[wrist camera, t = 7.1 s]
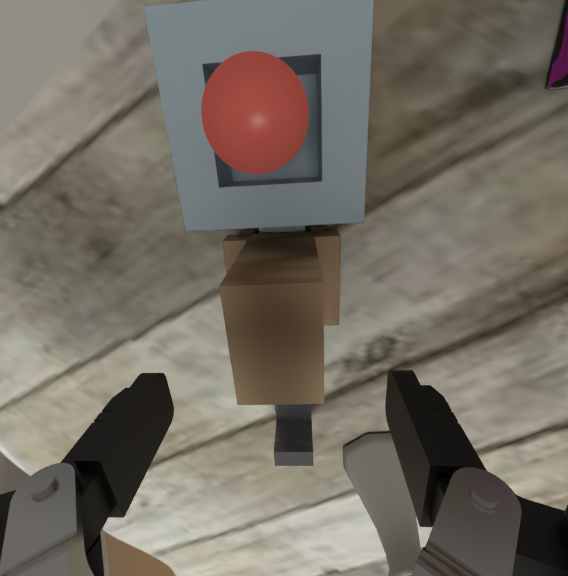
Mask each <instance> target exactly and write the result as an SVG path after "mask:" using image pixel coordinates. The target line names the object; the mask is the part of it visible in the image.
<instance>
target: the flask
mask: <svg viewBox="0 0 568 576" xmlns="http://www.w3.org/2000/svg"><path fill="white" fill-rule="evenodd" d="M343 457H344V469H345V471H346V473H347V475H348V477H349V479H350V480H351V482H352V484H353V486H354V487H355V489H356V491H357V493H358V495H359V496H360V498H361V500H362V502H363V504H364V506H365V508H366V510H367V512H368V513H369V515H370V517H371V519H372V521H373V523H374V525H375V527H376V529H377V532H378V534H379V537H380V540H381V543H382V545H383V548H384V551H385V553H386V557H387V562H388V566H389V576H411V575H412V572H413V570H414V567H415V564H416V562H417V559H418V557H419V554H420V552H421V548H420V541H419V535H418V528H417V522H416V512H415V509H414V506H413V503H412V500H411V496H410V493H409V490H408V487H407V484H406V481H405V477H404V474H403V471H402V468H401V465H400V461H399V458H398V455H397V452H396V449H395V445H394V442H393V439H392V436H391V433H382V434H366V435H365V436H363V437H361V438H359V439H358V440H356V441H354V442H352V443H351V444H349V445H347V446H345V447H344V448H343Z"/></svg>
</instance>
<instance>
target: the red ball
mask: <svg viewBox="0 0 568 576" xmlns="http://www.w3.org/2000/svg"><path fill="white" fill-rule="evenodd" d="M201 116H202V123H203V128H204V132H205V135H206V137H207V139H208V142H209V144H210V145H211V147H212V149H213V150H214V151H215V153H216V154H217V155H218V156H219V157H220V158H221V159H222V160H223V161H224V162H225V163H226V164H228V165H229V166H231V167H232V168H234V169H236V170H238V171H241V172H244V173H249V174H265V173H269V172H273V171H275V170H277V169H279V168H281V167H283V166H284V165H286V164H287V163H288V162H289V161H291V160H292V159H293V158H294V157H295V156H296V154H297V153H298V152H299V150H300V148H301V146H302V144H303V142H304V139H305V136H306V132H307V128H308V121H309V110H308V102H307V97H306V94H305V91H304V88H303V86H302V84H301V81H300V80H299V78H298V77H297V75H296V74H295V72H294V71H293V70H292V69H291V68H290V67H289V66H288V65H287V64H286V63H285V62H283V61H282V60H281V59H279V58H277V57H275V56H273V55H271V54H268V53H265V52H259V51H247V52H241V53H238V54H235V55H233V56H231V57H229V58H228V59H226V60H225V61H224V62H222V63H221V64H220V65H219V66H218V67H217V68H216V69H215V71H214V72H213V73H212V75H211V76H210V78H209V80H208V82H207V84H206V87H205V90H204V93H203V97H202V104H201Z"/></svg>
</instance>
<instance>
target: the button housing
mask: <svg viewBox="0 0 568 576" xmlns="http://www.w3.org/2000/svg"><path fill="white" fill-rule="evenodd" d="M373 5H374V0H205V1H195V2H185V3H175V4H165V5H155V6H145V7H144V11H145V16H146V22H147V27H148V32H149V38H150V43H151V48H152V54H153V59H154V64H155V70H156V75H157V81H158V86H159V91H160V97H161V102H162V107H163V113H164V118H165V123H166V129H167V134H168V139H169V145H170V150H171V155H172V161H173V166H174V171H175V177H176V182H177V187H178V193H179V198H180V203H181V209H182V214H183V219H184V225H185V230H186V231H202V230H222V229H243V228H263V227H283V226H303V225H323V224H344V223H364V212H365V189H366V166H367V143H368V120H369V97H370V74H371V51H372V28H373ZM247 51H259V52H265V53H268V54H271V55H273V56H275V57H277V58H279V59H281V60H282V61H283V62H285V63H286V64H287V65H288V66H289V67H290V68H291V69H292V70H293V71H294V72H295V74H296V75H297V77H298V78H299V80H300V81H301V84H302V86H303V88H304V91H305V94H306V97H307V102H308V110H309V121H308V128H307V132H306V136H305V139H304V142H303V144H302V146H301V148H300V150H299V152H298V153H297V154H296V156H295V157H294V158H293V159H292V160H291V161H289V162H288V163H287V164H286V165H284V166H283V167H281V168H279V169H277V170H275V171H273V172H269V173H265V174H249V173H244V172H241V171H238V170H236V169H234V168H232V167H231V166H229V165H228V164H226V163H225V162H224V161H223V160H222V159H221V158H220V157H219V156H218V155H217V154H216V153H215V151H214V150H213V149H212V147H211V145H210V144H209V142H208V139H207V137H206V135H205V132H204V128H203V123H202V116H201V104H202V97H203V93H204V90H205V87H206V84H207V82H208V80H209V78H210V76H211V75H212V73H213V72H214V71H215V69H216V68H217V67H218V66H219V65H220V64H221V63H222V62H224V61H225V60H226V59H228V58H229V57H231V56H233V55H235V54H238V53H241V52H247Z"/></svg>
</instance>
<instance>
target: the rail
mask: <svg viewBox="0 0 568 576" xmlns="http://www.w3.org/2000/svg"><path fill="white" fill-rule="evenodd" d="M288 232H305V225H303V226H283V227H263V228H259V234H267V233H288ZM275 410H276V433H275V445H274V458H275V466H313V442H312V420H311V404H275Z"/></svg>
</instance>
